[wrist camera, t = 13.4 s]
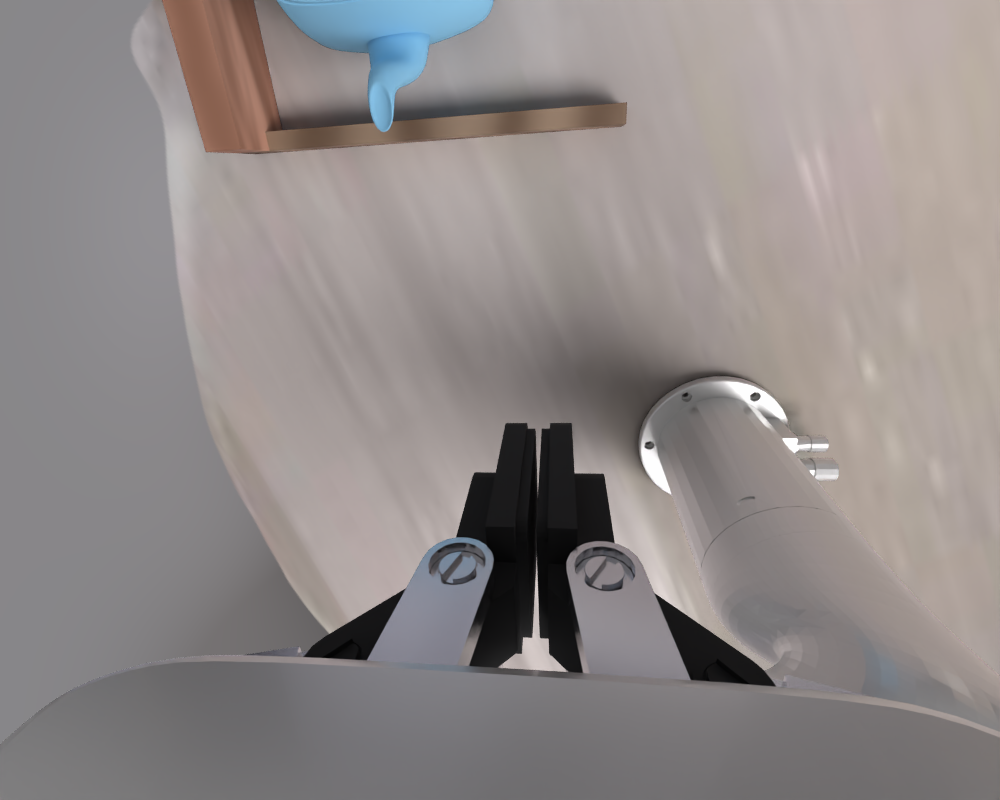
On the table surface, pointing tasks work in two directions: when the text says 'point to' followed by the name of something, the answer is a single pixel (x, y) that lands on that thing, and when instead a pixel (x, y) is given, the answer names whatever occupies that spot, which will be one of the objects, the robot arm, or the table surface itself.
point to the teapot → (386, 36)
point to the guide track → (257, 128)
